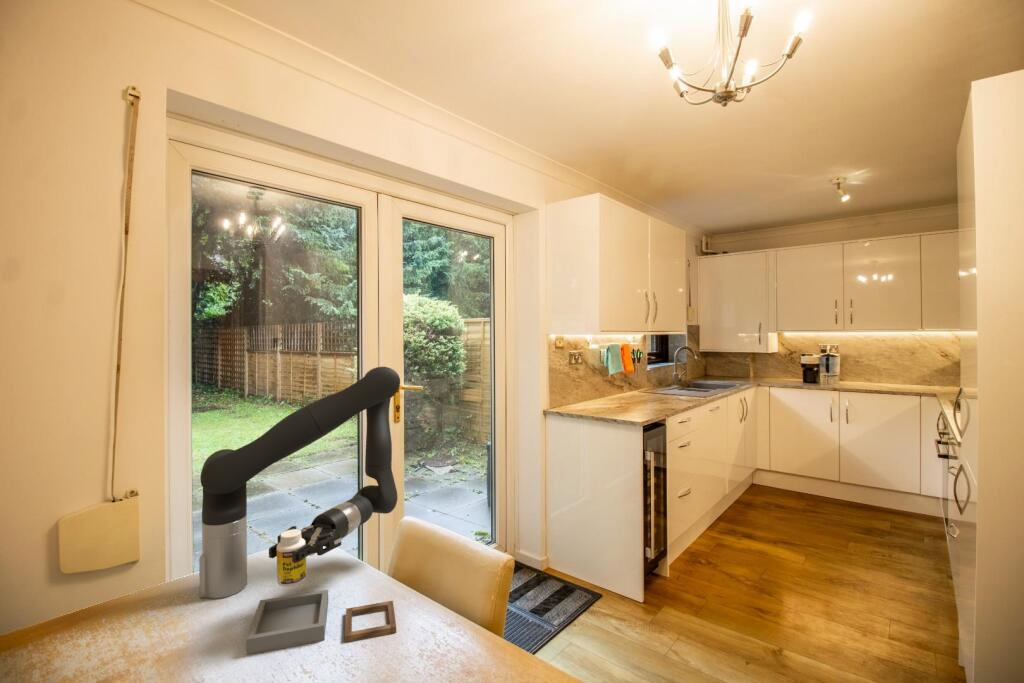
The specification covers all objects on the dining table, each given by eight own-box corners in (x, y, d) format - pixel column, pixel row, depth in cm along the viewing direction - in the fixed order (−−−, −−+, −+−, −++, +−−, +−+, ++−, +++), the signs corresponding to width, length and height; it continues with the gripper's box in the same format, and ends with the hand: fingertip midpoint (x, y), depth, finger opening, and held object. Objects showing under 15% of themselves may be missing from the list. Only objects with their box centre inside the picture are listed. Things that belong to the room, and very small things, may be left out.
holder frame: (345, 642, 94) (345, 636, 94) (346, 614, 104) (346, 608, 104) (396, 632, 97) (396, 626, 97) (392, 605, 107) (392, 600, 107)
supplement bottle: (279, 591, 96) (277, 541, 95) (275, 579, 100) (274, 531, 100) (308, 582, 99) (307, 534, 98) (304, 571, 103) (302, 525, 103)
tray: (246, 654, 90) (246, 639, 90) (260, 613, 104) (260, 600, 104) (324, 640, 95) (324, 625, 95) (328, 602, 108) (328, 589, 108)
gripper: (312, 504, 115) (254, 533, 99) (362, 511, 110) (309, 542, 94) (313, 534, 115) (255, 568, 99) (362, 542, 111) (310, 579, 95)
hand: (282, 555), depth 97 cm, fingers closed on supplement bottle, 5 cm apart
